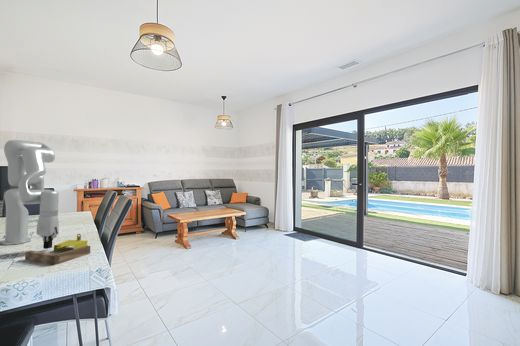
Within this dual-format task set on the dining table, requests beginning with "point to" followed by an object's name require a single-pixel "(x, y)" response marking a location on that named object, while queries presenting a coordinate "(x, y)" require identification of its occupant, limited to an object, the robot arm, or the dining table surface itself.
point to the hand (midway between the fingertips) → (47, 248)
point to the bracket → (71, 244)
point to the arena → (56, 255)
